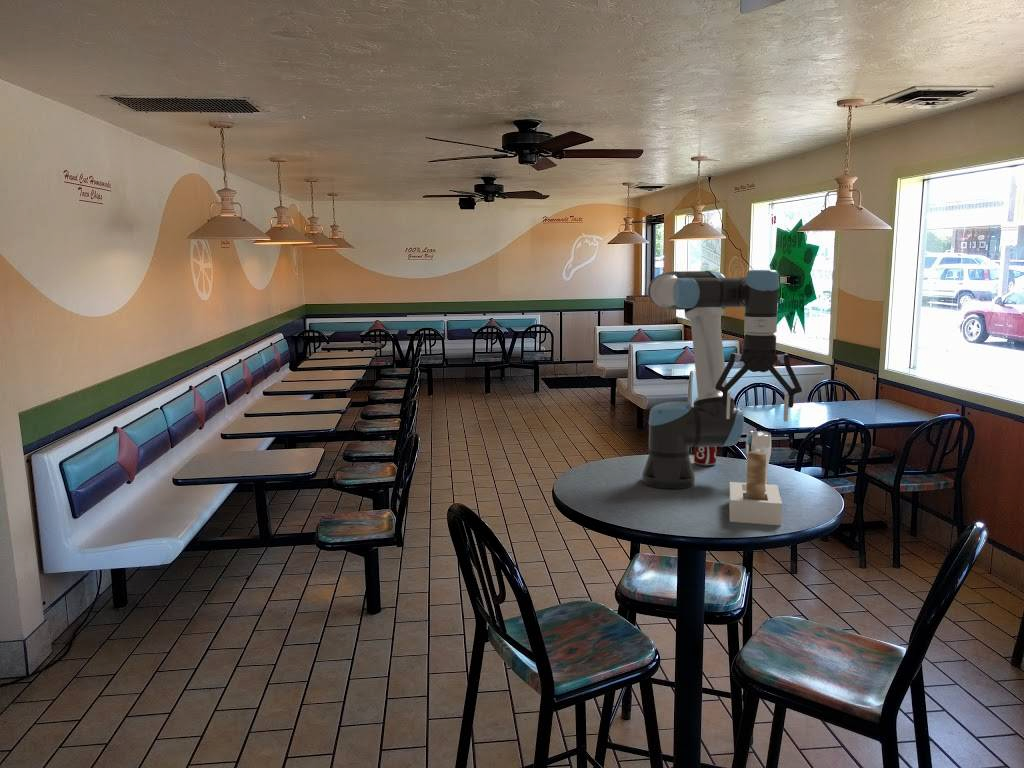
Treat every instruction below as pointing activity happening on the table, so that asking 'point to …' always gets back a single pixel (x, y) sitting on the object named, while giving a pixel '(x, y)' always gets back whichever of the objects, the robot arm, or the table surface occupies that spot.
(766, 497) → the square-hole block
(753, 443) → the beer glass
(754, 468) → the oak peg
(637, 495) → the table surface
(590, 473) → the table surface
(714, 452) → the soda can
